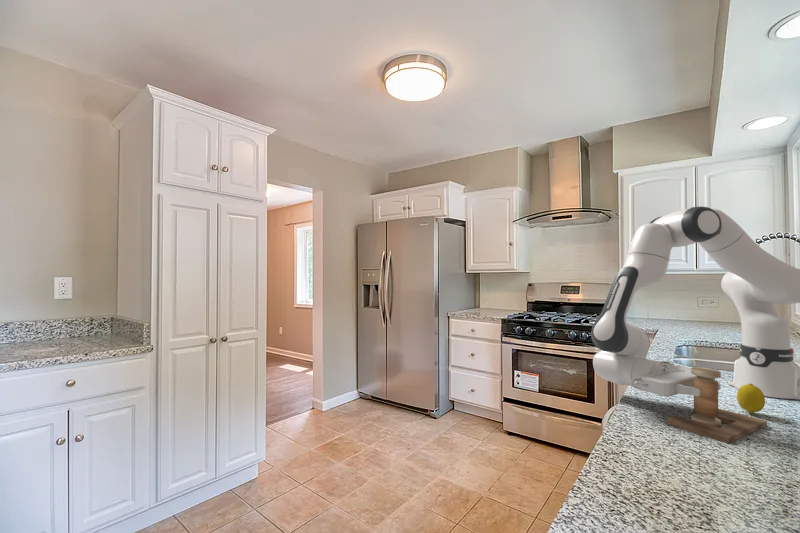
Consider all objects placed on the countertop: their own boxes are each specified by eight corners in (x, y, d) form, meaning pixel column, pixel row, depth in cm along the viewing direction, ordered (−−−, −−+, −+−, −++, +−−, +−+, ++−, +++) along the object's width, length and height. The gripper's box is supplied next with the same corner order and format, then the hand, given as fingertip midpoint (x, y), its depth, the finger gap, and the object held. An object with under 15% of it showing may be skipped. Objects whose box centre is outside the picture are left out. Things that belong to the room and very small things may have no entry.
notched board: (706, 409, 105) (706, 405, 105) (766, 426, 94) (766, 421, 94) (666, 423, 95) (666, 418, 95) (728, 443, 85) (728, 437, 85)
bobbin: (698, 417, 100) (698, 366, 100) (725, 425, 95) (725, 371, 95) (686, 421, 97) (686, 368, 97) (714, 429, 92) (713, 374, 92)
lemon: (759, 419, 99) (759, 387, 99) (732, 412, 103) (732, 382, 104) (769, 415, 101) (768, 384, 101) (742, 408, 106) (742, 379, 106)
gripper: (629, 369, 102) (688, 382, 90) (670, 360, 112) (729, 371, 100) (629, 393, 102) (688, 409, 90) (670, 382, 112) (729, 396, 100)
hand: (710, 389), depth 95 cm, fingers open, 8 cm apart
